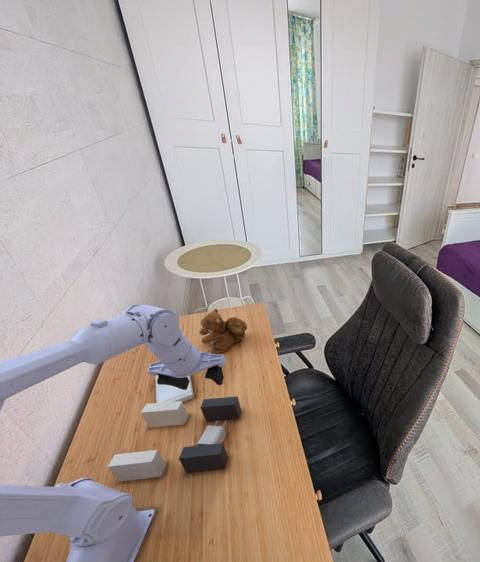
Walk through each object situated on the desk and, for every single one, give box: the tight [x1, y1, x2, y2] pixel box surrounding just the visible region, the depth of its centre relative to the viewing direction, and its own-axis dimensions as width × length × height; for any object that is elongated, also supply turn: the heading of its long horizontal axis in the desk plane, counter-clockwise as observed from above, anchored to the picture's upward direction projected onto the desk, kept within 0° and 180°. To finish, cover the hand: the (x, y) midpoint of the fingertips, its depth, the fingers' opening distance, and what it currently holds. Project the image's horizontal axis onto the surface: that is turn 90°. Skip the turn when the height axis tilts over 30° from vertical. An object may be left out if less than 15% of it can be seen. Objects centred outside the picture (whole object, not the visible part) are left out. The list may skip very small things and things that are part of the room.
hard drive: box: [154, 375, 195, 403], centre depth 79 cm, size 2×8×12 cm
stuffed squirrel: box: [198, 308, 248, 354], centre depth 93 cm, size 10×14×13 cm
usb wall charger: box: [196, 420, 228, 446], centre depth 67 cm, size 4×7×4 cm, turn 178°
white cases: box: [107, 401, 189, 482], centre depth 65 cm, size 14×8×6 cm, turn 9°
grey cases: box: [178, 395, 242, 474], centre depth 67 cm, size 14×8×6 cm, turn 9°
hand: (204, 383), depth 65 cm, fingers open, 7 cm apart
